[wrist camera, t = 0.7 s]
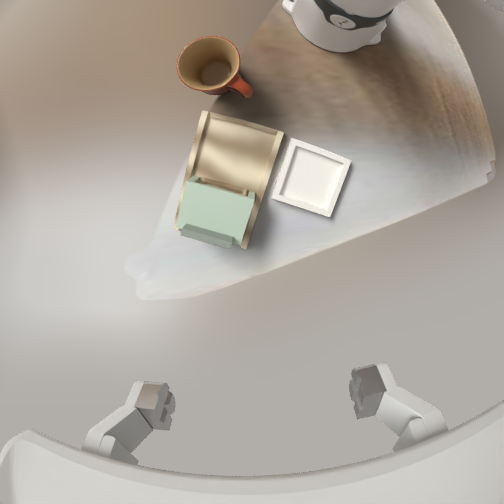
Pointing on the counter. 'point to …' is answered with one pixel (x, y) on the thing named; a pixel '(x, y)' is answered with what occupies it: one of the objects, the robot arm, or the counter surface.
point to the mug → (212, 67)
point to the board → (233, 159)
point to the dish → (310, 177)
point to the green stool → (213, 214)
